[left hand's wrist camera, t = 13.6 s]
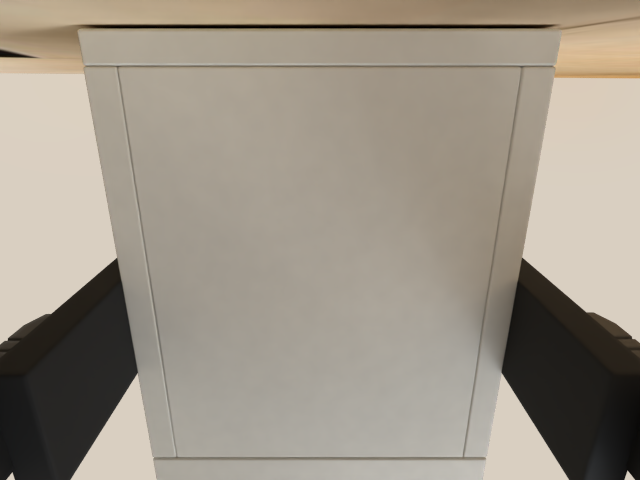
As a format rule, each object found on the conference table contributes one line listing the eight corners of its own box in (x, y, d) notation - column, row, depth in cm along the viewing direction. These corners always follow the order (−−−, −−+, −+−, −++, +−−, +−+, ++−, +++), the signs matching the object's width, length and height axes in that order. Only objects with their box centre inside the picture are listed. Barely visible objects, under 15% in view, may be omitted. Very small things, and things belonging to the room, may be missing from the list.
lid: (395, 252, 27) (387, 363, 30) (244, 252, 27) (252, 363, 30) (487, 459, 12) (454, 639, 15) (152, 459, 12) (184, 639, 15)
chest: (410, 63, 23) (397, 257, 27) (229, 63, 23) (242, 256, 27) (563, 27, 8) (487, 458, 12) (75, 27, 8) (152, 457, 12)
